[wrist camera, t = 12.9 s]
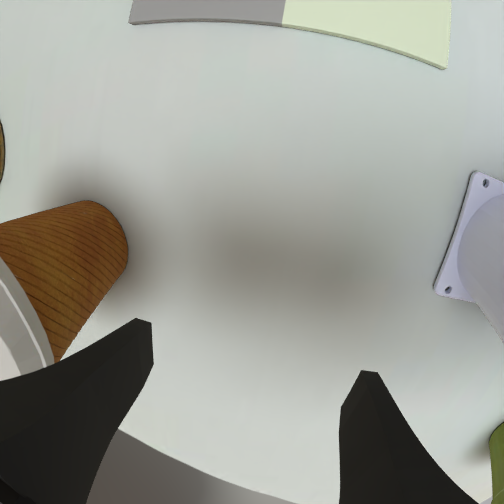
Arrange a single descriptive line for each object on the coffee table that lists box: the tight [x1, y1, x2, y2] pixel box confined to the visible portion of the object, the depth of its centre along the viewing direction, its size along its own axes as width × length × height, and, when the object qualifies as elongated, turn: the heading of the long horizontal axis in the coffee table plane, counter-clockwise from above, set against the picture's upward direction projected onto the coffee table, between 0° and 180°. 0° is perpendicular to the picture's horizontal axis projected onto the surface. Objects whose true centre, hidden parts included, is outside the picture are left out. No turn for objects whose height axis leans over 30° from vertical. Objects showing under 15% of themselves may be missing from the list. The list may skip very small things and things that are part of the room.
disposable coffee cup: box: [0, 201, 128, 381], centre depth 15 cm, size 10×10×12 cm
